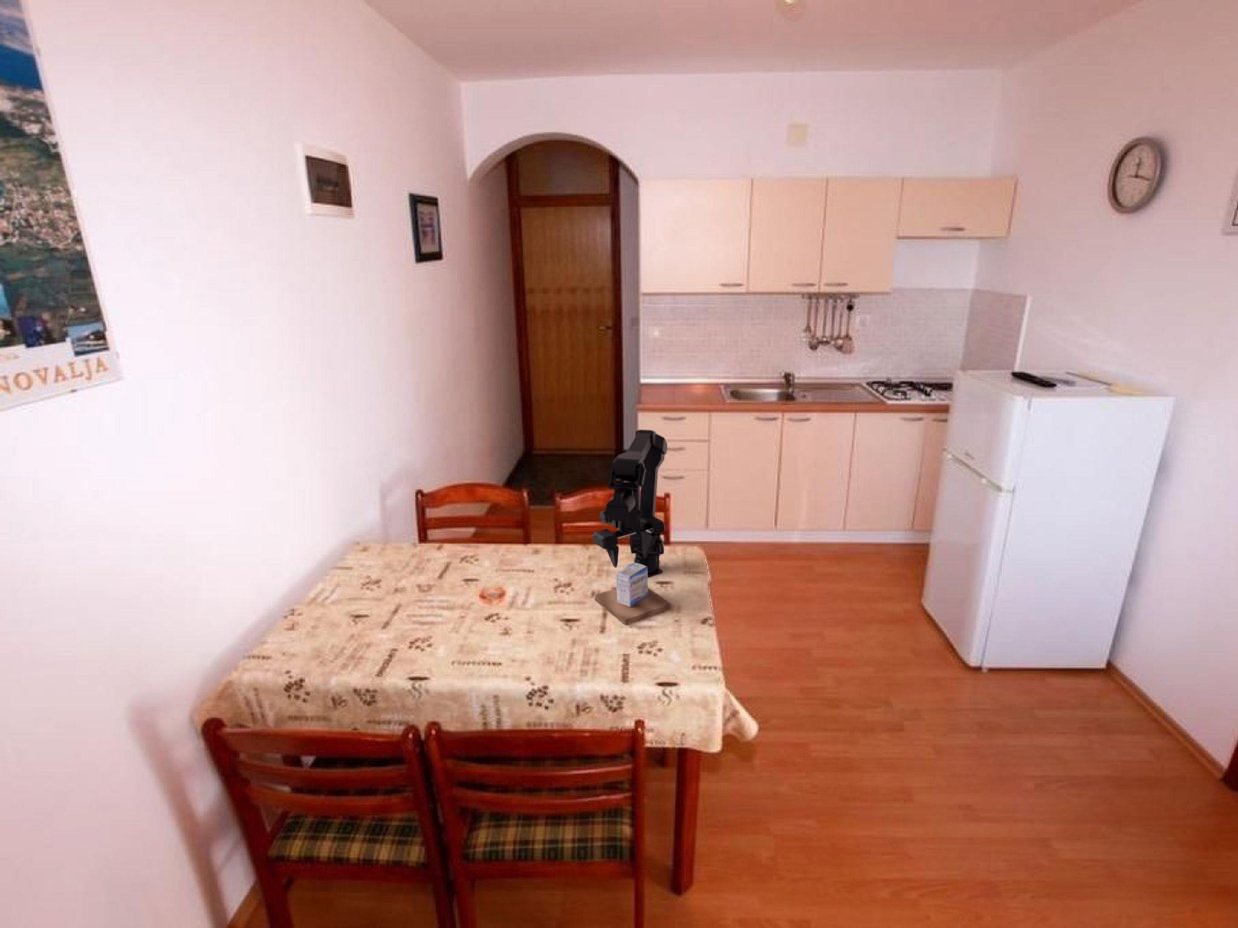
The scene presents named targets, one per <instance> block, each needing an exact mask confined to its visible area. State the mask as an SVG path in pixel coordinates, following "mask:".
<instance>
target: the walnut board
mask: <svg viewBox="0 0 1238 928" xmlns="http://www.w3.org/2000/svg"><path fill="white" fill-rule="evenodd" d="M594 601H595V602H596V603H598V604H599V606H601V607H602V608H603V609H605V610H606V611H607V612H609V613H610V614H611V615H612V616H613V617H615V618H616V619H617V620H618V621H620V622H621V623H622V624H623V625H624V626H627V625H630V624H632V623H636V622H638V621H640V620H641V621H642V620H644V619H646V618H648V617H649V618H650V617H652V616H654V615H657V614H660V613H663V612H666V611H668V610H670V609H671V608H672V603H671V602H669V601H668V600H667V599H666V598H663V597H662V596H661V595H660V594H658V593H657V592H655V591H654V590H653V589H651V588H650V587H648V595H647V596H646V597H644V598H643V599H642V600H640V601H639V602H637V603H636V604H634V605H633V606H632V607H628V606H625V605H623V604H620V603H618V602H617V587H616V588H612V589H609V590H606V591H603V592H601V593H598V594H594Z"/></svg>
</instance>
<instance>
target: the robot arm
mask: <svg viewBox="0 0 1238 928" xmlns="http://www.w3.org/2000/svg"><path fill="white" fill-rule="evenodd" d="M634 436H635V437H634V438H633V439H632V442H631V443H630V445H629V447H628V449H627V450H626V452H622V453H620V454H618V455H617V456H616V457H615V459H614V461H612V463H611V466H610V473H609V478H608V479H609V481H608V486H607V489H608V490H613V491H614V492H613V494H612V497H610V500H608V501H607V503H606V506H605V510H601V511H599V520H600V523H601V524H603V525H604V524H605V525H606V526H610V525H612V527H613V528H614V529H617V530H614V531H612V530H610V529H608V528H604V529H600V530H597V531H594V533H593V534H592V543H594V544H596V545H597V546H598V547H600V548H601V549H603V550H605V551H606V553H607V555H608V557H609V559H610V561H611V564H612V566H613V568H615V569H616V568H617V567H618V562H619V553H620V552H619V551H620V549H619V548H620V546H618V544H619V539H621V538H625V537H629V536H630V537H629V547H630V553H631V554H634V555H635V556H634V560H633V561H634V562H633V563H638V564H641V565H644V566H647V572H648V578H649V577H653V576H656V575H658V574H661V573H663V569H661V568H660V557H661V555H664V554H665V546H664V540H663V538H662V534H663V533H664V532H665V531H666V526H665V522H664V521H663V520H662V519H659V518H658V517H656V507H657V506H656V505H657V493H658V492H657V491H658V477H659V468H660V467H661V465H663V463H664V461H665V458H666V457H665V456H666V455H667V453H668V442H667V440H666V438H665V437H664V436H662V435H660V434H657V432H656V431H655V430H653V429H638V430H636V431H635V435H634Z"/></svg>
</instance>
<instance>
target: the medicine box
mask: <svg viewBox="0 0 1238 928" xmlns="http://www.w3.org/2000/svg"><path fill="white" fill-rule="evenodd" d="M615 577H616V578H615V579H616V581H615V583H616V588H617V602H618V603H620V604H623V605H625V606H628V607H632V606H633V605H634V604H636V603H637V602H639V601H640V600H642V599H643V598H644V597H646V596H647V595H648V588H649V587H648V586H649V585H648V581H649V579H648V578H649V577H648V572H647V566H644V565H641V564H638V563H634V562H632V564H630V565H628V566H626V567H625V568H623V569H622V570H620V571H618V572H617V573H616V574H615Z"/></svg>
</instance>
